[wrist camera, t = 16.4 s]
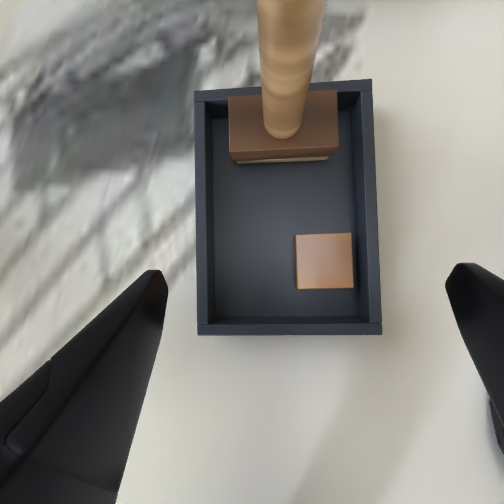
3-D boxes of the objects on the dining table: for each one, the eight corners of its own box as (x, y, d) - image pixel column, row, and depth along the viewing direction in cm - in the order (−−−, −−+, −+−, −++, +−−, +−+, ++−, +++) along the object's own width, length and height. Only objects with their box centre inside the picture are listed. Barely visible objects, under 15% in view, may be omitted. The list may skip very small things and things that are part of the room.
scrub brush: (329, 162, 21) (417, 10, 9) (234, 167, 22) (181, 30, 9) (328, 112, 22) (412, -112, 9) (233, 118, 22) (180, -85, 9)
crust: (348, 286, 21) (353, 288, 20) (295, 287, 21) (297, 289, 20) (346, 234, 21) (351, 232, 20) (294, 236, 21) (295, 234, 20)
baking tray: (367, 325, 21) (382, 335, 18) (207, 326, 22) (197, 336, 19) (358, 103, 22) (372, 78, 19) (203, 113, 23) (193, 90, 20)
